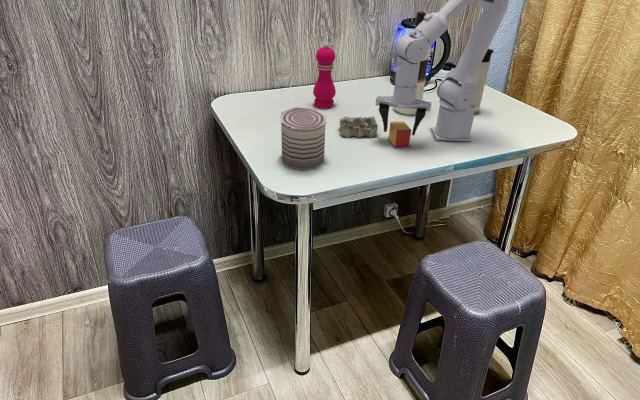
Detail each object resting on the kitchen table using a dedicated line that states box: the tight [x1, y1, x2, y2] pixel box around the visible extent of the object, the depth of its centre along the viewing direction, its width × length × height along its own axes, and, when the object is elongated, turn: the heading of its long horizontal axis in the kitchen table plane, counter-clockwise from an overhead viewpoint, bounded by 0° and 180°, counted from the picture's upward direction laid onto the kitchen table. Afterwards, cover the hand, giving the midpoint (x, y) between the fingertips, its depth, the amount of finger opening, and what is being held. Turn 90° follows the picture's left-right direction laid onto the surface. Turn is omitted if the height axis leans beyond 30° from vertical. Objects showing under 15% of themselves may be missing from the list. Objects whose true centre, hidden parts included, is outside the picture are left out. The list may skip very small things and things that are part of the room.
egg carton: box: [339, 115, 379, 138], centre depth 135 cm, size 11×8×4 cm
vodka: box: [393, 11, 432, 116], centre depth 143 cm, size 9×9×30 cm
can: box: [279, 106, 327, 171], centre depth 118 cm, size 11×11×12 cm
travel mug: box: [471, 48, 495, 115], centre depth 147 cm, size 6×7×20 cm
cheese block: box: [388, 120, 412, 148], centre depth 130 cm, size 4×6×5 cm
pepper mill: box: [312, 41, 337, 109], centre depth 148 cm, size 7×7×20 cm
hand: (399, 132), depth 130 cm, fingers open, 7 cm apart
